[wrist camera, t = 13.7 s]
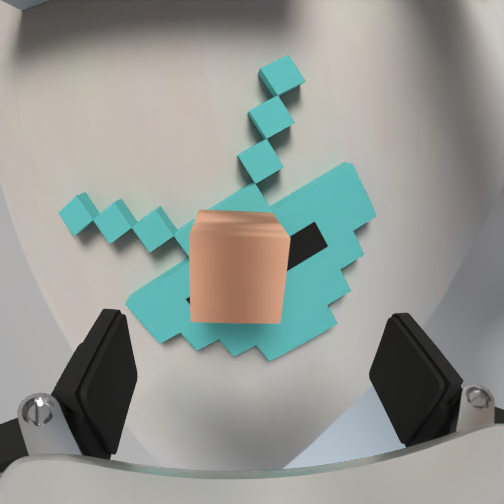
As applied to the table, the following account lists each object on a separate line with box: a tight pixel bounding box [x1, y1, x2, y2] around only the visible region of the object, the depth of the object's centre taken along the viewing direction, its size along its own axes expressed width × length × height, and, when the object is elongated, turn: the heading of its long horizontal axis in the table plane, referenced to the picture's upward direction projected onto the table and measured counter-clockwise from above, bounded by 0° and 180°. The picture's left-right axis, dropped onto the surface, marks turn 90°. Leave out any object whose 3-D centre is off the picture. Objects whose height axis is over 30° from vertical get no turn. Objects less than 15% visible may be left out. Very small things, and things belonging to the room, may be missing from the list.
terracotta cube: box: [189, 210, 290, 324], centre depth 19 cm, size 5×5×6 cm
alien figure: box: [59, 55, 376, 361], centre depth 23 cm, size 20×2×20 cm
